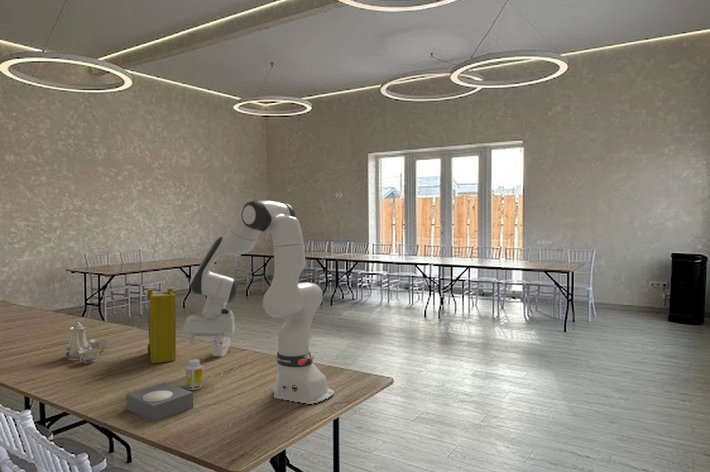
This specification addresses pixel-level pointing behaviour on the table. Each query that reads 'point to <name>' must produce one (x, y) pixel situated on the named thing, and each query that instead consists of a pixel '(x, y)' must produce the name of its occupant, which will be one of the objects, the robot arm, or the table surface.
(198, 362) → the supplement bottle
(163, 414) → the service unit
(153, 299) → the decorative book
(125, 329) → the table surface
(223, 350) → the ink cartridge box
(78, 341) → the chinaware
